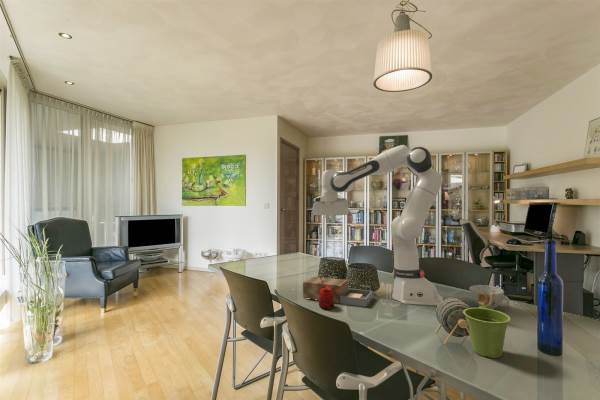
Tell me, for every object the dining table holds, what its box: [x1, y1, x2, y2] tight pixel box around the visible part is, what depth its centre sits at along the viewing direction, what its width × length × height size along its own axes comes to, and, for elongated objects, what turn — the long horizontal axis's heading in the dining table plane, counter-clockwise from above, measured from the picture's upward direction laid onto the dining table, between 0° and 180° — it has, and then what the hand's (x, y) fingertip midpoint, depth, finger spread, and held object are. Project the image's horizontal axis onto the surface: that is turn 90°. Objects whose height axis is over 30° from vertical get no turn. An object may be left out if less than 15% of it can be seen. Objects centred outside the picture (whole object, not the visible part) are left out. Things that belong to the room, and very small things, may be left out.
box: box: [339, 288, 374, 308], centre depth 138 cm, size 12×14×4 cm
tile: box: [347, 293, 363, 298], centre depth 138 cm, size 6×6×2 cm
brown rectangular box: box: [302, 276, 349, 304], centre depth 145 cm, size 19×12×8 cm, turn 64°
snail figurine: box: [477, 290, 495, 309], centre depth 112 cm, size 5×6×12 cm
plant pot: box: [462, 307, 511, 359], centre depth 88 cm, size 12×12×11 cm
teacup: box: [469, 284, 510, 310], centre depth 125 cm, size 15×12×8 cm
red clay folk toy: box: [318, 273, 335, 310], centre depth 131 cm, size 8×7×15 cm
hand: (330, 223), depth 164 cm, fingers closed
